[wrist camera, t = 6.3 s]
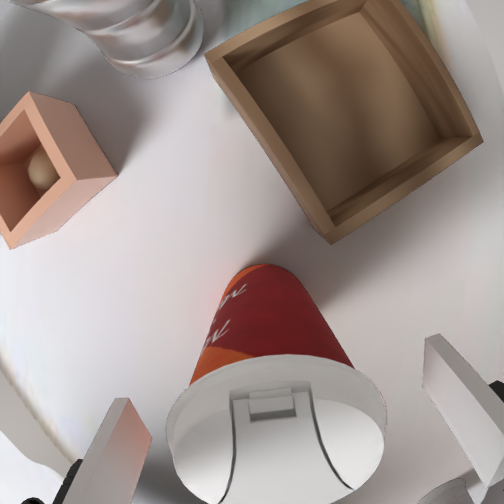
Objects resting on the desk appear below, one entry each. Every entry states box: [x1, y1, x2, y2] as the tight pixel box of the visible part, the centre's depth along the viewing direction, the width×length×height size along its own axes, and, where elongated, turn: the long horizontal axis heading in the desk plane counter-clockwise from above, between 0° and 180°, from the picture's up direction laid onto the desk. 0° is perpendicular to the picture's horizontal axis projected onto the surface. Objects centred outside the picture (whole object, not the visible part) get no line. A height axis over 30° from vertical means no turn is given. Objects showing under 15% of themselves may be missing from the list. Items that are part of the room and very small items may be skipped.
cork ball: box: [28, 149, 61, 190], centre depth 19 cm, size 3×3×3 cm
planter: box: [0, 91, 118, 250], centre depth 18 cm, size 7×7×6 cm
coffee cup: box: [166, 264, 387, 504], centre depth 16 cm, size 8×8×15 cm
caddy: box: [204, 0, 484, 245], centre depth 18 cm, size 12×12×5 cm
